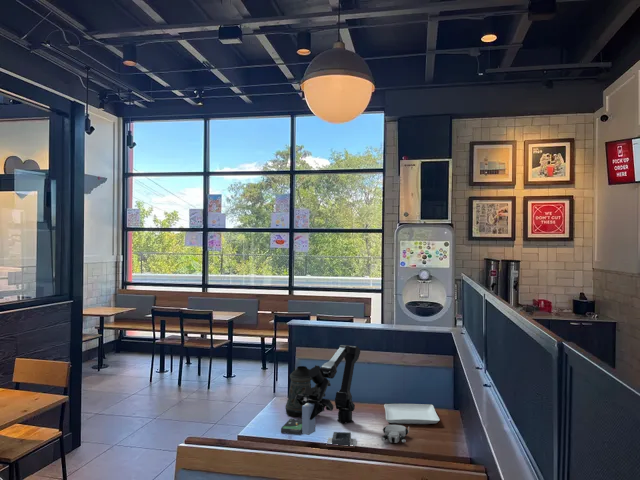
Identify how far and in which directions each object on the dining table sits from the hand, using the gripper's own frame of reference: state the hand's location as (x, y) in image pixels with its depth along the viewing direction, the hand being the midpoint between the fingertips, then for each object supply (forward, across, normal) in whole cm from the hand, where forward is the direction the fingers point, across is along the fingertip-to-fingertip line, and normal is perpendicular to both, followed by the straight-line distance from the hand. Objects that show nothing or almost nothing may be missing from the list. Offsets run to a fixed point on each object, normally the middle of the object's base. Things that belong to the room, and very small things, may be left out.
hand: (307, 418), depth 216 cm
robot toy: (-10, +32, +26) cm, 43 cm away
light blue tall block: (+4, 0, +6) cm, 7 cm away
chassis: (+2, +14, +13) cm, 19 cm away
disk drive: (0, -16, +17) cm, 23 cm away
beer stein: (-17, -28, +33) cm, 46 cm away
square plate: (-33, +26, +50) cm, 65 cm away
